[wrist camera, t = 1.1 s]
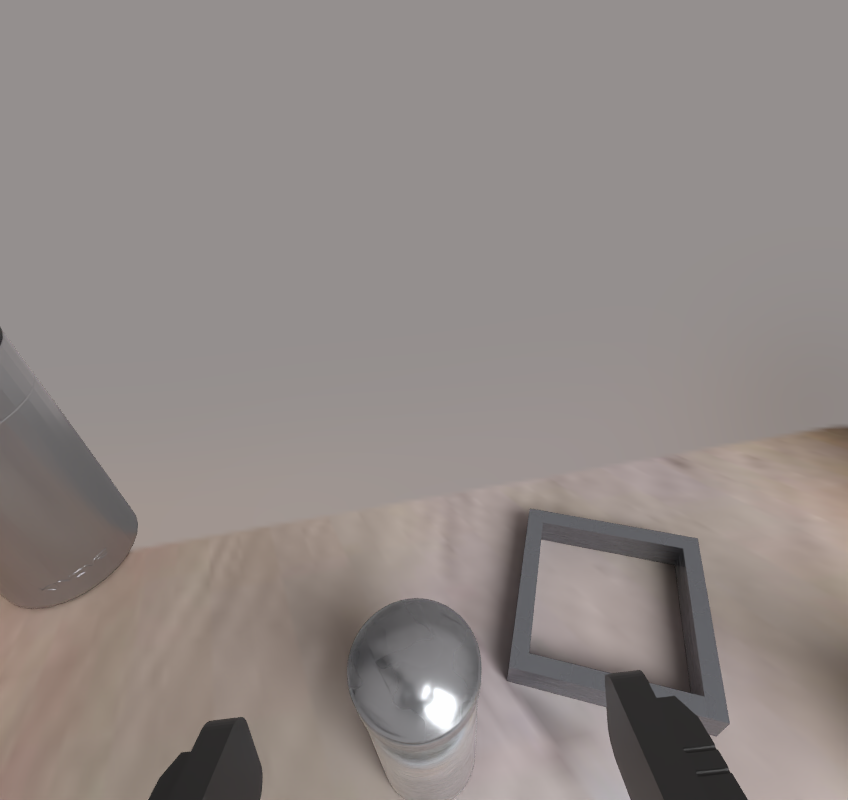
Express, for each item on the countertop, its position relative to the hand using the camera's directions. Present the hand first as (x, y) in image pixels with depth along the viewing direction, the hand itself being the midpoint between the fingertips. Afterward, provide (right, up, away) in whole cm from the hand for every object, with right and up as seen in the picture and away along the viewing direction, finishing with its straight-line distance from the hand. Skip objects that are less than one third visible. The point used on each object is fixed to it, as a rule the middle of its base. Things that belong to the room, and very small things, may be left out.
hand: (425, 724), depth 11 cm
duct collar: (+11, -6, +20) cm, 24 cm away
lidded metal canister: (0, -11, +15) cm, 19 cm away
